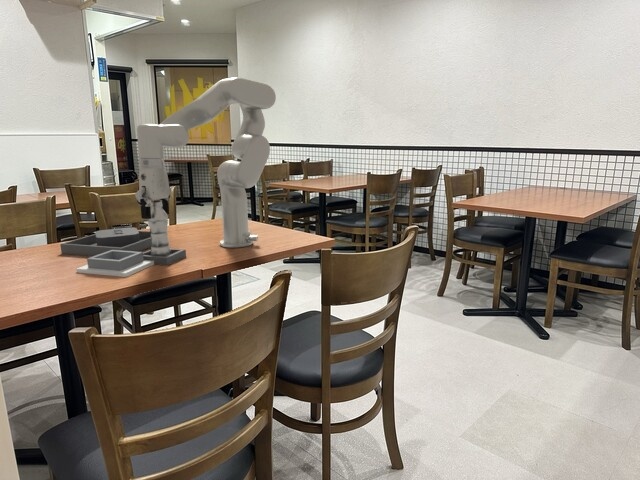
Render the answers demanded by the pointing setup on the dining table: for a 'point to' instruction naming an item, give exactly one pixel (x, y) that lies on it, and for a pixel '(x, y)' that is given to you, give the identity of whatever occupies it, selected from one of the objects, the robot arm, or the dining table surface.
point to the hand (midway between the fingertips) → (155, 216)
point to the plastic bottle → (159, 230)
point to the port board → (116, 263)
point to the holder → (160, 260)
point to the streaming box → (117, 237)
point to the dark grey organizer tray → (91, 249)
